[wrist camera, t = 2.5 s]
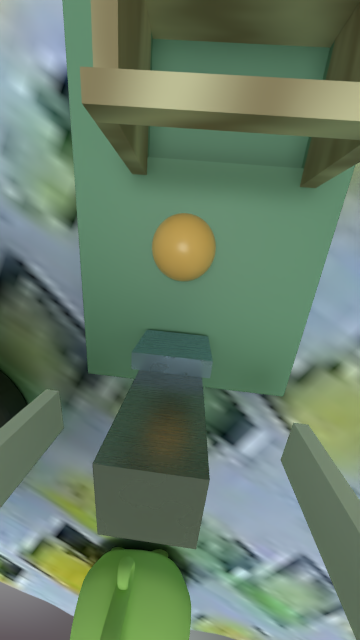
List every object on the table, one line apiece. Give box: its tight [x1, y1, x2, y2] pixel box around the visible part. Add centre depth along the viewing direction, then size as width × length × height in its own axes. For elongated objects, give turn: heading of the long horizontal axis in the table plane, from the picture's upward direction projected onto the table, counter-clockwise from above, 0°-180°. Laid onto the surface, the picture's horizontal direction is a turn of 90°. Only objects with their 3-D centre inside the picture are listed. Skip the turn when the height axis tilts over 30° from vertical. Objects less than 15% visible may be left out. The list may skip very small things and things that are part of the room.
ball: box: [152, 213, 216, 281], centre depth 12 cm, size 4×4×4 cm
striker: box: [93, 330, 213, 549], centre depth 12 cm, size 5×5×10 cm
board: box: [62, 0, 355, 396], centre depth 14 cm, size 18×24×1 cm
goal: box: [80, 0, 360, 188], centre depth 9 cm, size 12×8×6 cm, turn 85°
